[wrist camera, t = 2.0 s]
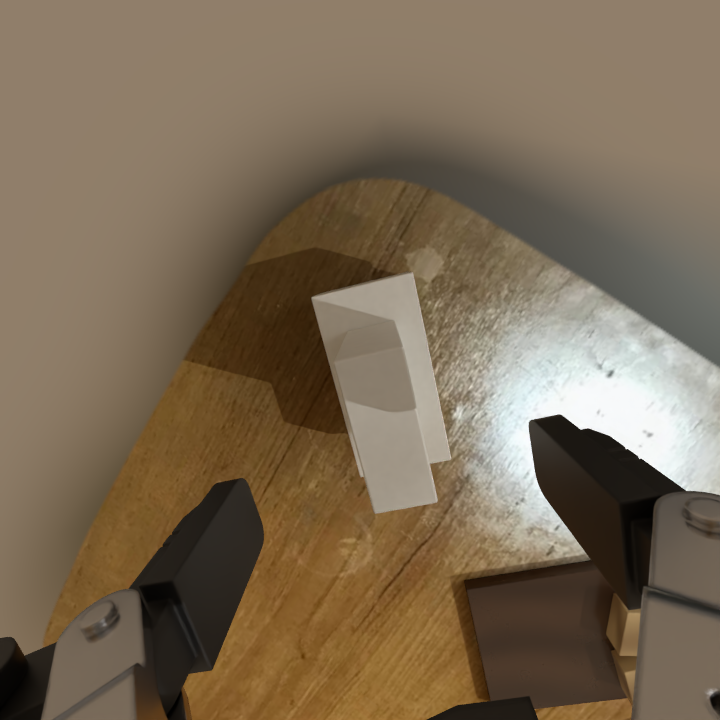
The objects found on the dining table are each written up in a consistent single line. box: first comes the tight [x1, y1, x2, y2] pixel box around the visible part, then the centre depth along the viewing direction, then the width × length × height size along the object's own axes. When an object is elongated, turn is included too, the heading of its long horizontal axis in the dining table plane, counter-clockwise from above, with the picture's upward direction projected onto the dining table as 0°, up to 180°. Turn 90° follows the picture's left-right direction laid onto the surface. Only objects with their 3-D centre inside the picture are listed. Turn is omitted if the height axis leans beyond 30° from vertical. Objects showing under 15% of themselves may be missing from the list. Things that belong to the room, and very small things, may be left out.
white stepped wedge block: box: [311, 272, 451, 514], centre depth 17 cm, size 5×10×10 cm, turn 14°
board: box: [464, 561, 627, 709], centre depth 26 cm, size 12×16×1 cm
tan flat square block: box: [606, 593, 641, 656], centre depth 24 cm, size 4×4×2 cm
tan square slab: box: [611, 650, 637, 706], centre depth 25 cm, size 4×4×2 cm
